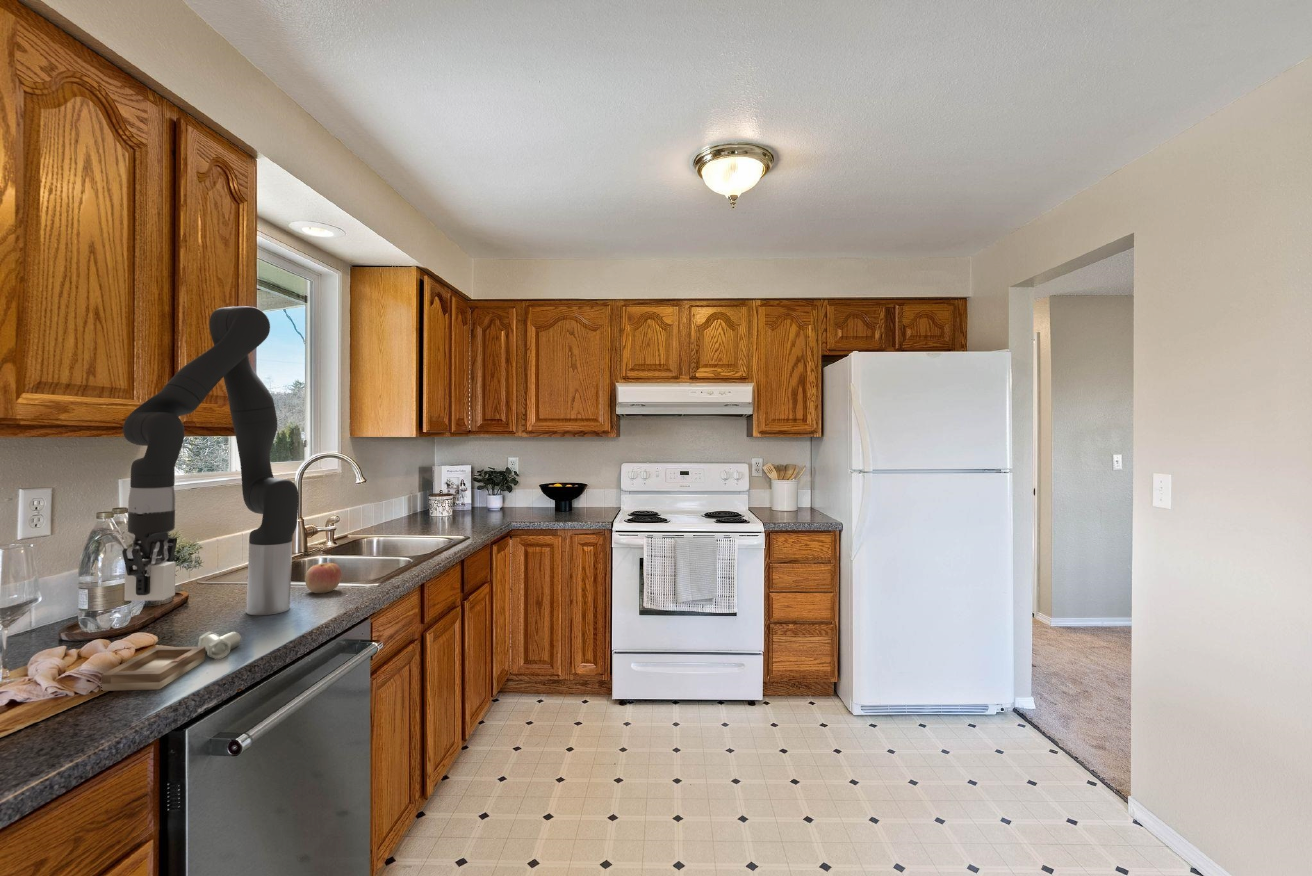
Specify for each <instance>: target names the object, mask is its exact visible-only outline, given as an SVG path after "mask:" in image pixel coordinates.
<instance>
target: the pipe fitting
mask: <svg viewBox="0 0 1312 876" xmlns="http://www.w3.org/2000/svg"><path fill="white" fill-rule="evenodd" d="M240 644H242V637H241V635H240V634H239V633H238V632H236V631H231V632H228V633H226V634H224V635H220V634H218V633H216V632H213V631H212V630H211V631H210V630H209V631H207V632H205V633H203V634H202V635H200V636H199V638H198V644H197V645H198V646H197V647H206V648H205V653H206V655H207V656H208V657H210V658H213V659H216V660H220V659H223V658H225V657H227V656H228V655H229V654H230V652H231V650H232V649H235V648H237V647H238V646H240Z"/></svg>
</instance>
